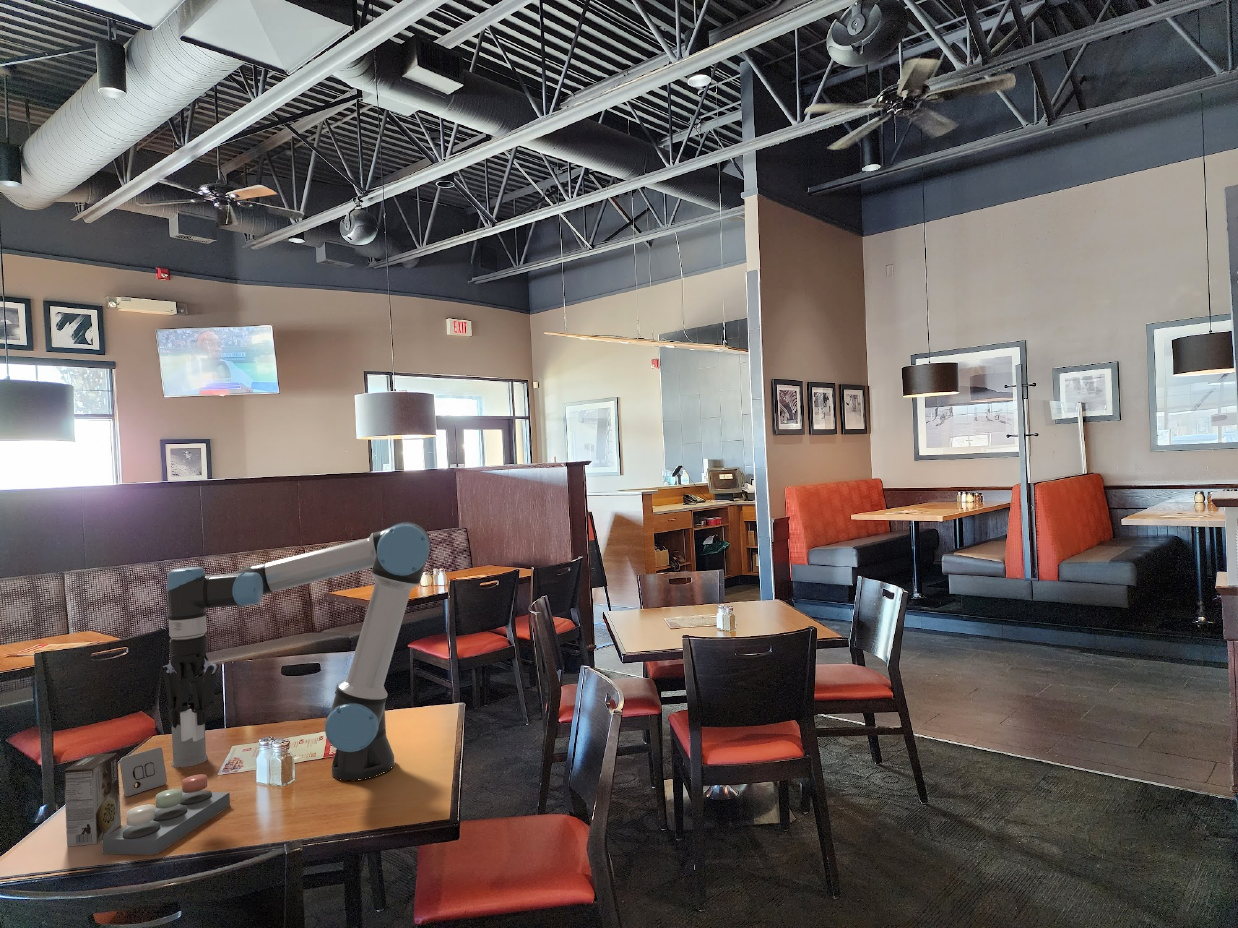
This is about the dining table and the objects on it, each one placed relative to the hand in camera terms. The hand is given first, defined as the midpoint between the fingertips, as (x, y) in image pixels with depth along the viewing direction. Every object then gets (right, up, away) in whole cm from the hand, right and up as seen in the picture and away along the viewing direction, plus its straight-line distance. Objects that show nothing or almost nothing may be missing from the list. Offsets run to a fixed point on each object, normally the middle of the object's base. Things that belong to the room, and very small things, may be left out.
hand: (192, 738), depth 174 cm
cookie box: (-16, -17, -10) cm, 25 cm away
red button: (+1, -11, 0) cm, 11 cm away
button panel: (0, -16, -8) cm, 18 cm away
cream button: (-2, -11, -16) cm, 20 cm away
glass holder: (-21, -18, +35) cm, 45 cm away
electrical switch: (-21, -18, +15) cm, 32 cm away
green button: (-1, -11, -8) cm, 14 cm away
